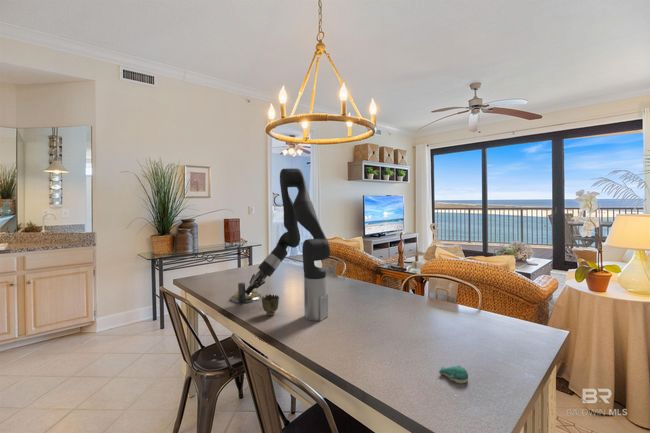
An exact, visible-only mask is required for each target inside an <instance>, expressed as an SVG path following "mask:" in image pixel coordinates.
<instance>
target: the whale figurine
mask: <svg viewBox="0 0 650 433" xmlns="http://www.w3.org/2000/svg"><path fill="white" fill-rule="evenodd" d="M438 373H439V374H440V375H444V376H446V377H447V378H448V379H449V380H450V381H453V382H454V383H456V384H465V383H467V381H468V380H469V374H468V371H467V369H466V368H465V367H464V366H462V365H454V366H453V365H452V366H449V367H443V366H442V367H440V369H439V371H438Z"/></svg>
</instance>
